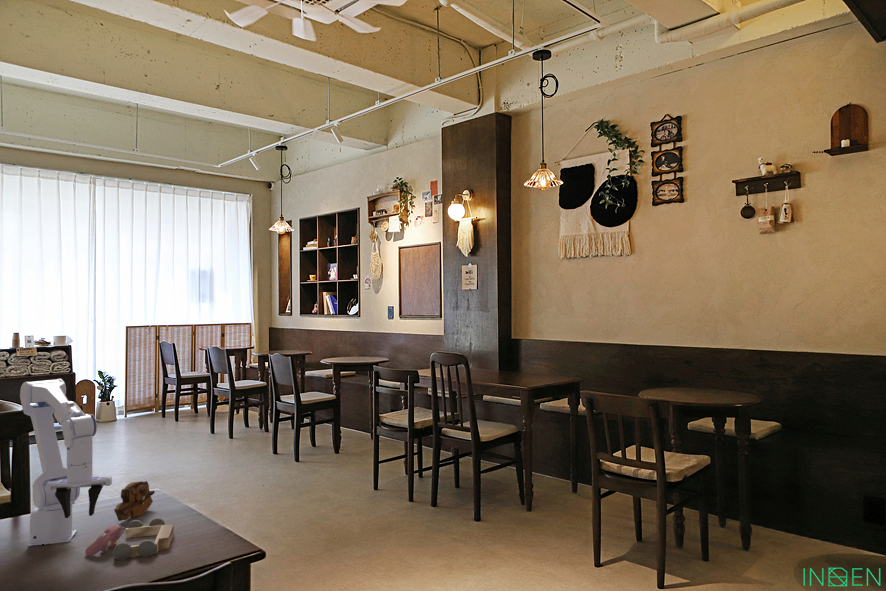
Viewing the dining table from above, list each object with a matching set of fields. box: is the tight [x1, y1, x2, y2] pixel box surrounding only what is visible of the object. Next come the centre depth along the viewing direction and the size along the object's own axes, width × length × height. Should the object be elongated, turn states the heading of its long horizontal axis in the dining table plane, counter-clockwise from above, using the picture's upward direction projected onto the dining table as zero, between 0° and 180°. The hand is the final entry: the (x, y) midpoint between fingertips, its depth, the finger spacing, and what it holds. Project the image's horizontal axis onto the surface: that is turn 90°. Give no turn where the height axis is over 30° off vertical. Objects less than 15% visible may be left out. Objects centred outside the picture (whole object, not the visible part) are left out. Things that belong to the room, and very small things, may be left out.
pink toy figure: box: [84, 524, 126, 557], centre depth 158 cm, size 10×5×7 cm, turn 179°
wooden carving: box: [114, 480, 156, 522], centre depth 183 cm, size 16×5×10 cm, turn 178°
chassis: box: [112, 517, 175, 561], centre depth 161 cm, size 12×18×4 cm
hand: (79, 515), depth 156 cm, fingers open, 5 cm apart
